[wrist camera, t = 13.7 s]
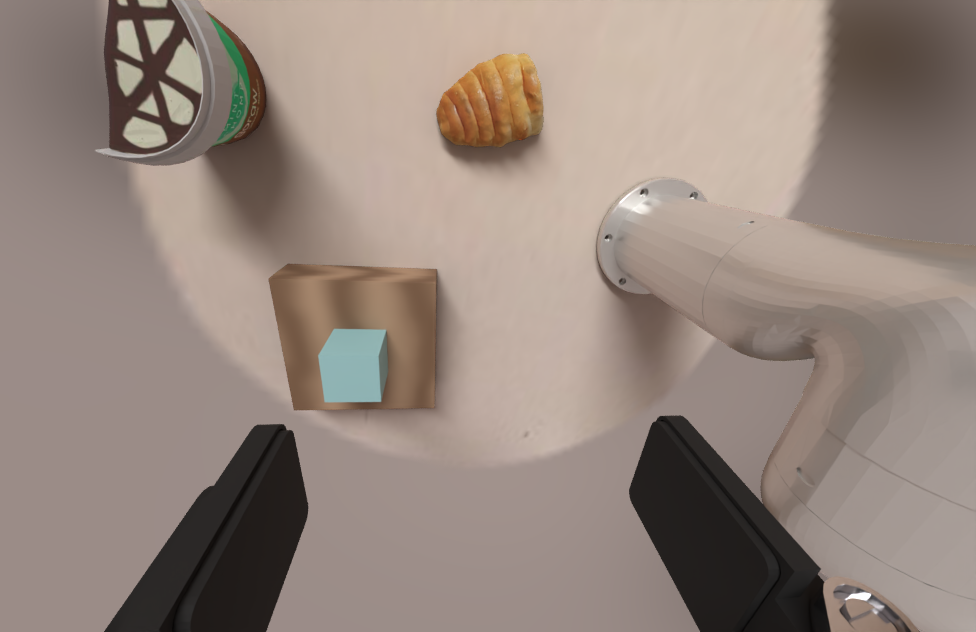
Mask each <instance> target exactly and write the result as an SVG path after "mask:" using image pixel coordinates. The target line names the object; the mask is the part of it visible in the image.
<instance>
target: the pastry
mask: <svg viewBox="0 0 976 632" xmlns="http://www.w3.org/2000/svg"><path fill="white" fill-rule="evenodd" d="M436 115H437V121H438V124H439V126H440V130H441V133H442V135H443V136H444V137H445V138H447V139H448V140H450V141H451V142H452V143H454V144H455V145H470V146H474V147H484V146H495V147H502V146H504V145H505V144H507V143H509V142H513V141H516V140H523V139H525V138H527V137H528V136H531V135H538V134H539V133H540V132H541V130H542V127H543V122H544V117H543V99H542V91H541V84H540V81H539V78H538V76H537V70H536V68H535V65H534V63H533V61H532V60H531V59H530V57H529V56H528V55H527V54H524V53H523V54H520V55H513V54H502V55H499V56H497V57H495V58H494V59H492V60H488V61H487V62H483V63H480V64H478V65H477V66H476V67H475V68H474V69H472V70H470V71H469V72H468V73H467V74H466V75H465V76H464V77H462V78H461V79H459V80H458V82H457V83H455V84H454V85H453V86H452V87H451V88H450V89H449V90H448V91H446V92H445V93H444V94H443V96H442V99H441V101H440V104H439V107H438V108H437V112H436Z"/></svg>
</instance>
